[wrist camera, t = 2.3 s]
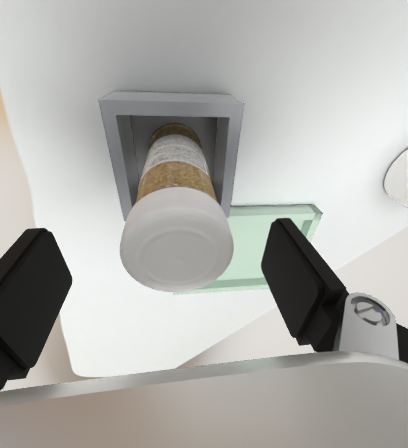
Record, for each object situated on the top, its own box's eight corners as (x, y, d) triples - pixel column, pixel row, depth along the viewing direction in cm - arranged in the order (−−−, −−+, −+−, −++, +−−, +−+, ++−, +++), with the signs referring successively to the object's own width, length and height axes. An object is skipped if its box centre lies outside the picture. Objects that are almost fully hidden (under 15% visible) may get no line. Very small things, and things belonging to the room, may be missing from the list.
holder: (114, 90, 16) (98, 99, 13) (229, 94, 17) (243, 103, 14) (132, 194, 21) (124, 221, 18) (220, 192, 22) (229, 217, 19)
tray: (168, 208, 23) (167, 218, 21) (313, 204, 25) (322, 213, 23) (173, 283, 30) (173, 294, 28) (286, 276, 32) (291, 286, 30)
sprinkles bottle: (189, 180, 21) (206, 304, 11) (142, 163, 20) (105, 286, 9) (210, 135, 19) (258, 233, 8) (158, 111, 17) (135, 193, 7)
